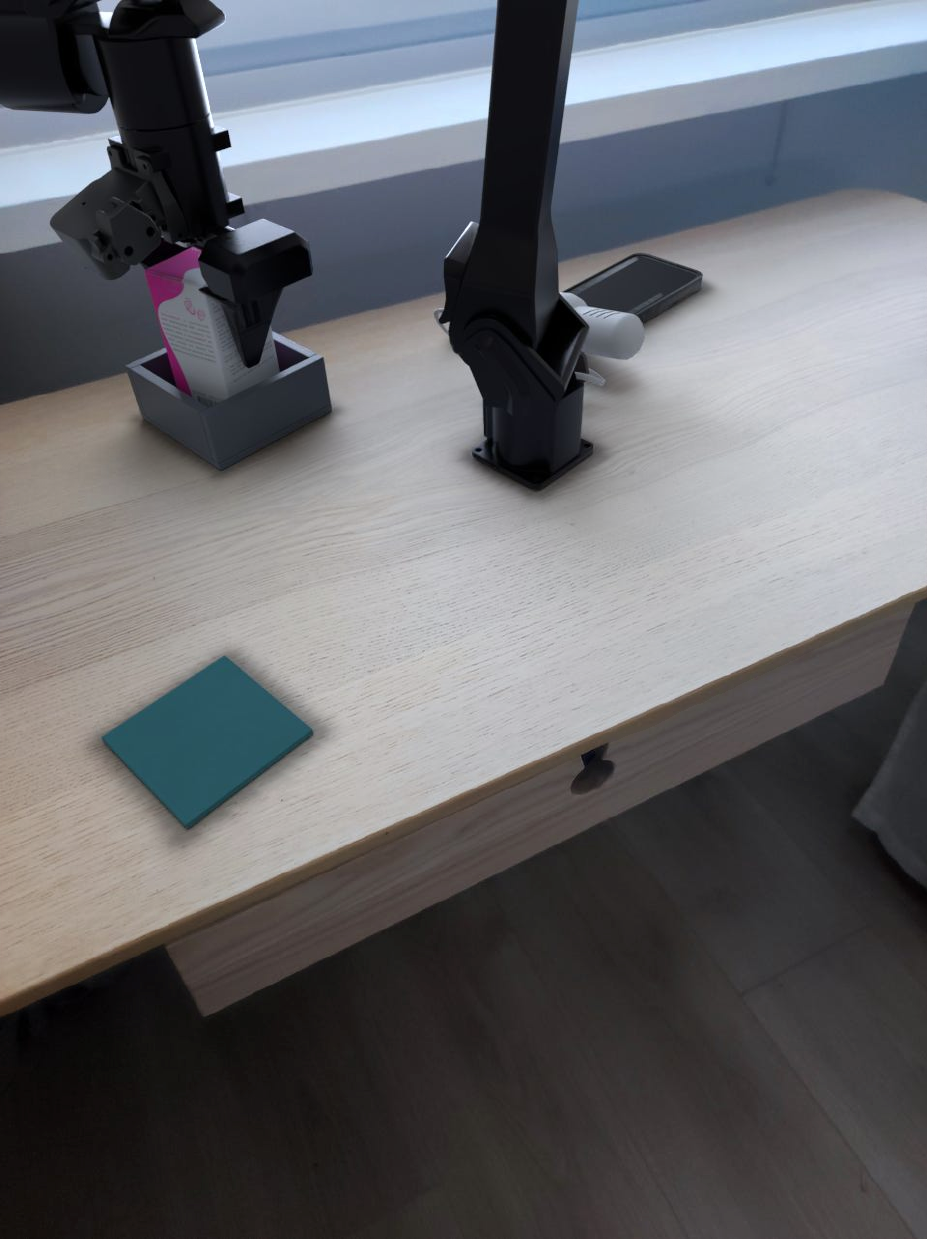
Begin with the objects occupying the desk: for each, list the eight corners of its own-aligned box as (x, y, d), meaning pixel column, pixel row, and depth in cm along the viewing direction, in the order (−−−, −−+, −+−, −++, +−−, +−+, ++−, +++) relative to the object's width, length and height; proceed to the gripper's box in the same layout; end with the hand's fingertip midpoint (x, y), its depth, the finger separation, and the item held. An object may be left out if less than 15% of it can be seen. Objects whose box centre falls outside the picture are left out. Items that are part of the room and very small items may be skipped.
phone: (534, 306, 79) (638, 250, 86) (534, 318, 80) (637, 261, 87) (605, 334, 75) (709, 273, 82) (604, 347, 76) (707, 285, 83)
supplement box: (288, 399, 71) (260, 254, 63) (237, 436, 68) (200, 288, 59) (233, 380, 73) (199, 238, 65) (181, 415, 70) (138, 270, 62)
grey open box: (332, 410, 71) (324, 356, 68) (220, 471, 66) (205, 416, 62) (251, 365, 76) (239, 314, 73) (142, 418, 71) (124, 365, 68)
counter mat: (313, 733, 48) (312, 729, 48) (187, 829, 44) (185, 825, 44) (226, 659, 52) (224, 654, 52) (103, 741, 48) (100, 736, 48)
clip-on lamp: (415, 386, 78) (562, 428, 66) (393, 316, 75) (545, 346, 62) (511, 327, 83) (666, 355, 70) (495, 258, 79) (656, 275, 67)
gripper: (-29, 121, 57) (59, 349, 68) (129, 189, 47) (202, 442, 58) (127, 79, 62) (185, 297, 73) (297, 133, 53) (334, 374, 64)
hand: (221, 348), depth 67 cm, fingers open, 7 cm apart
